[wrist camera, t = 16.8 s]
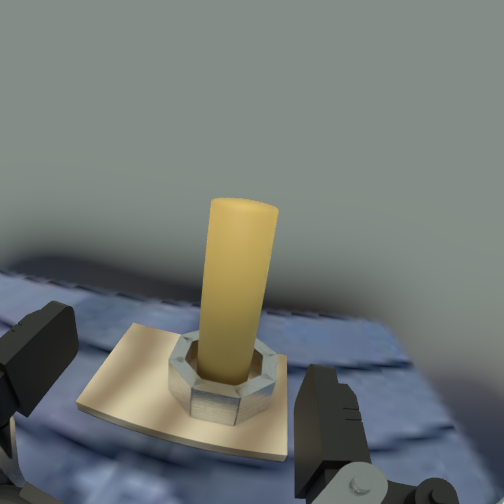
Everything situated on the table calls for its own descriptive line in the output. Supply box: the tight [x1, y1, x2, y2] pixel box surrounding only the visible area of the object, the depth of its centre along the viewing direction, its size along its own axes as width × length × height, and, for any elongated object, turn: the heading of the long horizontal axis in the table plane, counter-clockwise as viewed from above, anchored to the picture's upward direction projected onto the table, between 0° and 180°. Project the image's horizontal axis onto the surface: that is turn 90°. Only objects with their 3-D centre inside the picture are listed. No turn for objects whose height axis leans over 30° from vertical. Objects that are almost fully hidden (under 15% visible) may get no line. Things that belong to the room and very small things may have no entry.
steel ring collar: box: [168, 330, 277, 426], centre depth 25 cm, size 9×9×4 cm
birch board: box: [76, 323, 287, 462], centre depth 26 cm, size 17×13×1 cm
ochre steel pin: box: [197, 198, 279, 386], centre depth 23 cm, size 4×4×16 cm
